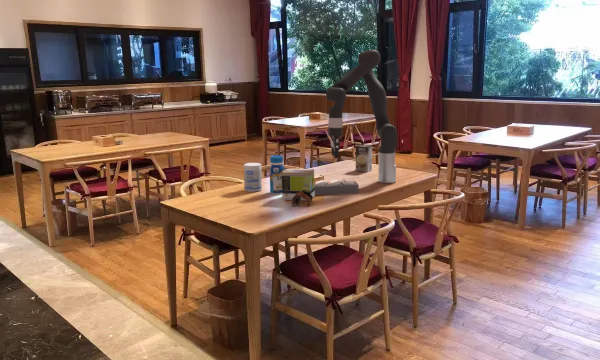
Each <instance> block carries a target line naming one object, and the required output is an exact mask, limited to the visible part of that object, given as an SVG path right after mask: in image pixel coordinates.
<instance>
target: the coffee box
mask: <svg viewBox="0 0 600 360" xmlns="http://www.w3.org/2000/svg"><path fill="white" fill-rule="evenodd" d="M372 170H373V145H366V144H359V145H356V146H355V171H356V172H363V173H364V172H365V173H369V172H372Z"/></svg>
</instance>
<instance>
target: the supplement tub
mask: <svg viewBox="0 0 600 360" xmlns="http://www.w3.org/2000/svg"><path fill="white" fill-rule="evenodd" d="M243 180H244V181H243V183H244V184H243V185H244V191H245V192H249V193H256V191H257V192H261V190H262V186H263V184H262V181H263V180H262V164H261V163H260V162H248V163H244V164H243Z"/></svg>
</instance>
